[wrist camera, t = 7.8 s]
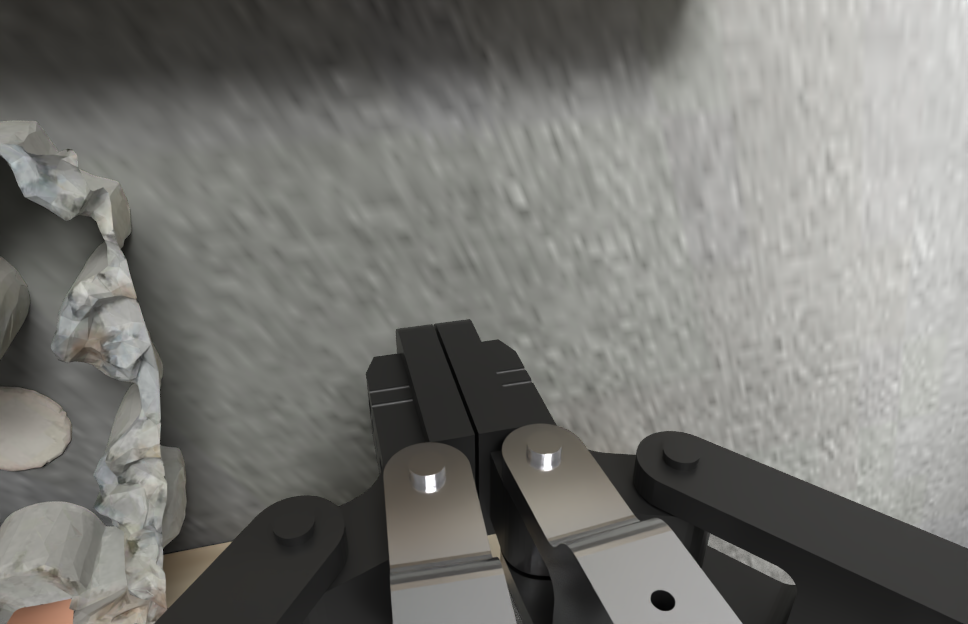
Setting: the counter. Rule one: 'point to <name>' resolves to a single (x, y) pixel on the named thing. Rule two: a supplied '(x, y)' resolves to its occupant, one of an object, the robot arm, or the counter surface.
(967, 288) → the counter surface
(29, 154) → the egg carton
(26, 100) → the counter surface
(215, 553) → the box
